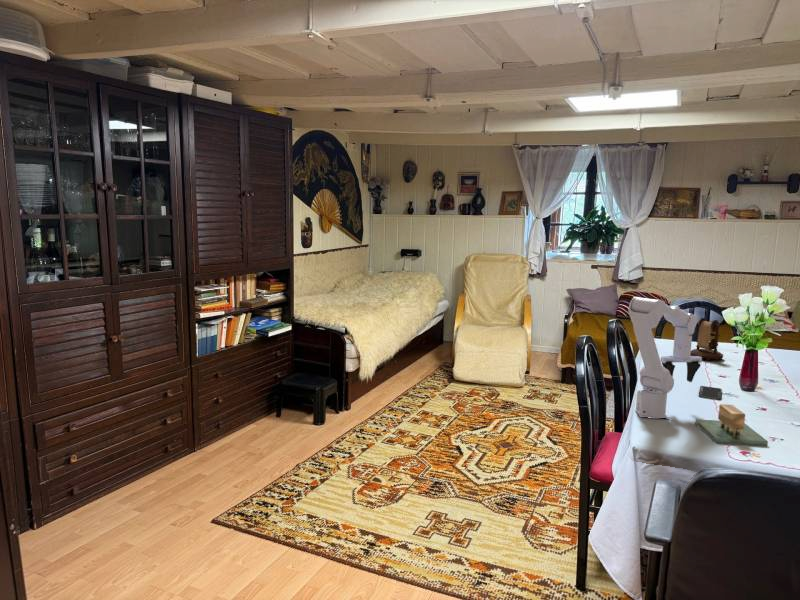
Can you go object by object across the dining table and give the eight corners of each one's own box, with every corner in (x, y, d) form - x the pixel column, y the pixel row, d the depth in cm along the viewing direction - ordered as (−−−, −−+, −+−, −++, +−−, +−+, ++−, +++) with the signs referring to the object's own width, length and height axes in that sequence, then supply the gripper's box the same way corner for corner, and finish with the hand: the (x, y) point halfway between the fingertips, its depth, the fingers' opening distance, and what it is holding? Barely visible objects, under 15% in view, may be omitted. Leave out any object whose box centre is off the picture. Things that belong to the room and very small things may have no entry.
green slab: (715, 442, 178) (716, 432, 177) (695, 423, 195) (696, 413, 194) (767, 445, 176) (768, 435, 175) (742, 426, 193) (743, 416, 192)
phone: (698, 395, 223) (700, 385, 236) (698, 398, 224) (700, 388, 236) (721, 398, 220) (722, 388, 232) (721, 401, 220) (721, 391, 233)
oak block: (730, 428, 181) (731, 413, 180) (718, 418, 189) (719, 404, 189) (743, 429, 180) (745, 414, 179) (731, 419, 189) (732, 404, 188)
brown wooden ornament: (682, 356, 290) (686, 317, 287) (702, 353, 296) (706, 315, 293) (709, 363, 276) (712, 322, 273) (729, 360, 282) (733, 320, 280)
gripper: (669, 347, 203) (666, 385, 205) (708, 347, 204) (704, 384, 206) (658, 343, 210) (656, 379, 212) (696, 343, 211) (693, 378, 213)
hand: (679, 381), depth 209 cm, fingers open, 7 cm apart
